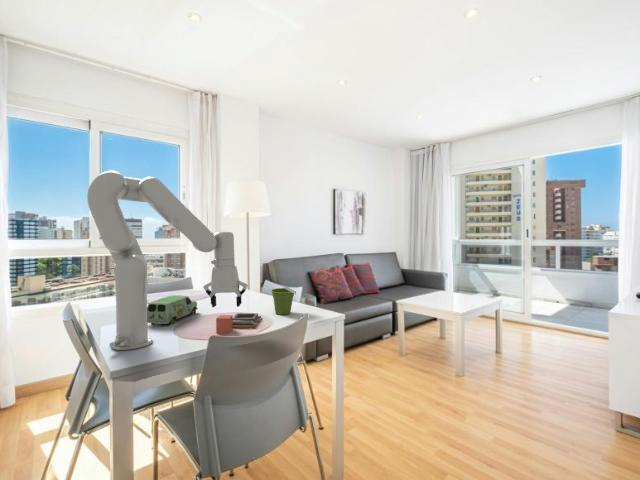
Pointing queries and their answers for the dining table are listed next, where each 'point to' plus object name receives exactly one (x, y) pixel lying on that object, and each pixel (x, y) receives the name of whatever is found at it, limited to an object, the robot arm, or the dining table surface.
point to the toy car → (170, 309)
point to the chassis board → (245, 320)
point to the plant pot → (282, 300)
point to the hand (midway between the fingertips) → (226, 306)
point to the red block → (224, 324)
